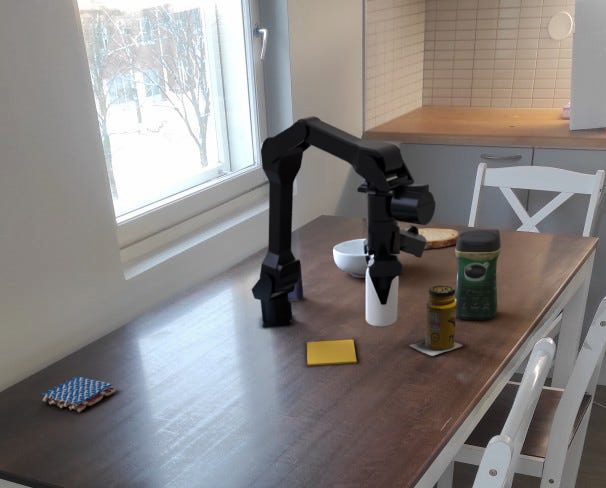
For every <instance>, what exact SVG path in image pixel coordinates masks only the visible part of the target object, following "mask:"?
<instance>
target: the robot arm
mask: <svg viewBox="0 0 606 488" xmlns="http://www.w3.org/2000/svg"><path fill="white" fill-rule="evenodd" d="M312 146H313V147H315V148H316V149H319V150H321V151H323V152H325V153H326V154H329V155H331V156H333V157H335V158H338V159H340V160H341V161H345V162H346V163H348V165H351V166H352V168H353V170H354V172H355V174H357V175H358V176H360V177H361V178H362V179H364V180H363V182H362V183H361V185H359V186H358V187H357V189H356V191H357V193H361V194H366V222H365V225H366V226H365V227H366V238H364V239H365V240H364V241H363V244H364V254H367V252H368V255H367V256H365V259H366V263H367V265H368V269H369V271H368V272H369V276H370V278H371V281H372V283H373V286H374V288H375V291H376V293H377V296H378V298H379V301H380V303H381V305H385V304H387V300H388V295H389V291H390V287H391V283H392V280H393V279H394V278H395V277H396V276H398V277H401V276H403V273H404V272H403V269H404V268H403V267H404V266H403V265H404V264H403V262H402V260H401V258H399V256H398V257H397V256H396V255H394V254H398V255H400V254H401V252H403V253H406V254H409V255H413V256H414V257H415V258H422V256H423V254H424V251H425V250H426V249H425V246H426V243H427V240H426V238H425V237H424V236H423V235H422V234H420V235H419V232H418V229H419V227H418V226H417V225H422V226H426V225H428V224H429V223H430V222H431V221H432V220H433V217H434V215H435V211H436V201H435V196H434V195H433V193H432V192H431V191H430V184H428V183H415V180H414V177H413V175H412V173H411V172H410V170H409V168H408V165H407V164H406V162H405V160H404V158H403V155H402V153H401V149H400V148H399V147H398V145H396V144H394V143H390V142H385V141H379V140H366V139H363V138H360V137H358V136H356V135H353V134H351V133H349V132H347V131H345V130H342V129H340V128H338V127H336V126H334V125H331V124H329V123H327V122H326V121H324V120H321V119H320V118H319V117H317V116H315V115H311V116H307V117H303V118H299V119H298V120H296V121H295V122H294V123H293V124H291V126H289V127H288V128H286V129H284V130H282V131H281V132H278V133H277V134H276V135H273V136H269V137H266V138H265V139H264V140H263V141H262V142H261V145H260V155H261V157H260V158H261V166H262V170H263V172H264V174H265V176H266V178H267V179H268V183H269V186H268V187H269V188H268V189H269V190H268V191H269V192H268V248H267V252H266V254H265V256H264V257H263V260H262V262H261V265H260V272H259V279H258V280H257V281H256V283H254V285H253V286H252V288H251V293H252V296H253V298H254V299H255V300H259V301H260V307H261V308H260V309H261V319H262V320H261V326H262V327H279V326H290V325H291V321H292V320H293V307H292V305H293V304H292V300H291V299H288V293H290V292H294V289H295V284H296V283H297V281H298V278H299V277H300V270H299V269H300V263H301V260H300V259H299V258H296V257H295V255H294V253H293V251H292V235H293V234H292V233H293V231H292V230H293V205H294V204H293V203H294V201H293V200H294V183H295V180H296V178H297V176H298V174H299V172H300V170H301V168H302V163H303V156H304V152H306V151H307V150H308V149H309V148H311V147H312ZM398 222H401V223H407V224H409V225H408V226H407V227H406V228H403V230H402V229H401V228H400V225H399V223H398ZM414 224H415V225H414Z"/></svg>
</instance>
